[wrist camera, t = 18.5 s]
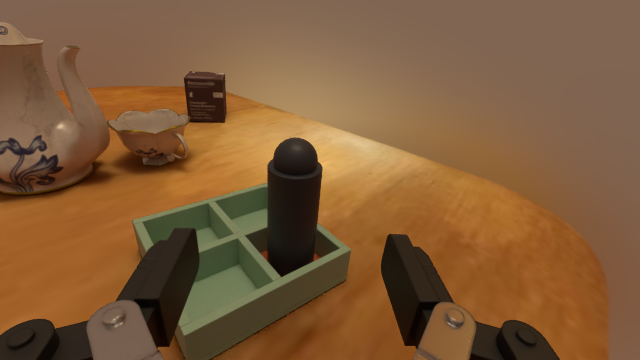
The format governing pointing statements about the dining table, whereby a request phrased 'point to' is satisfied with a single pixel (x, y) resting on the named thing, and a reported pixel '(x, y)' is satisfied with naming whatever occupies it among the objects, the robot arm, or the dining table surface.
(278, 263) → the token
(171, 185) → the dining table surface
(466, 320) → the robot arm
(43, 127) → the chinaware
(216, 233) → the grid
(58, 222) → the dining table surface
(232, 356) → the dining table surface
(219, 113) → the box
